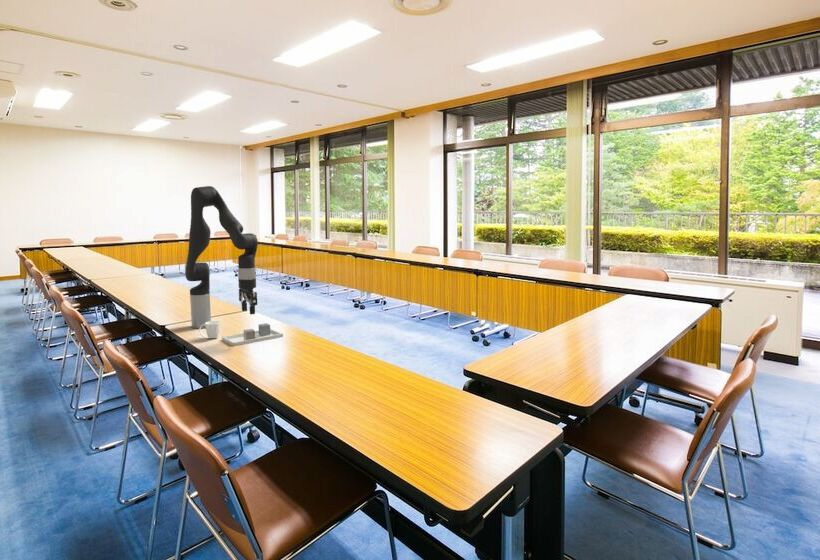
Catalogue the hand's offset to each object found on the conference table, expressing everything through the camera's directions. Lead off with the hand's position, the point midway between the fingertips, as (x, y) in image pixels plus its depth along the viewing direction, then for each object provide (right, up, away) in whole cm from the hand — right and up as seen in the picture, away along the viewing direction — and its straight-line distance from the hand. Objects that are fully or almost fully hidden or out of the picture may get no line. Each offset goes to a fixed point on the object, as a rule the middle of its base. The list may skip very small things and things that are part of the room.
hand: (248, 312), depth 212 cm
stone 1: (0, -13, +2) cm, 14 cm away
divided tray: (0, -13, +6) cm, 15 cm away
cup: (-20, -13, +6) cm, 25 cm away
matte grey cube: (+3, -12, +13) cm, 18 cm away
